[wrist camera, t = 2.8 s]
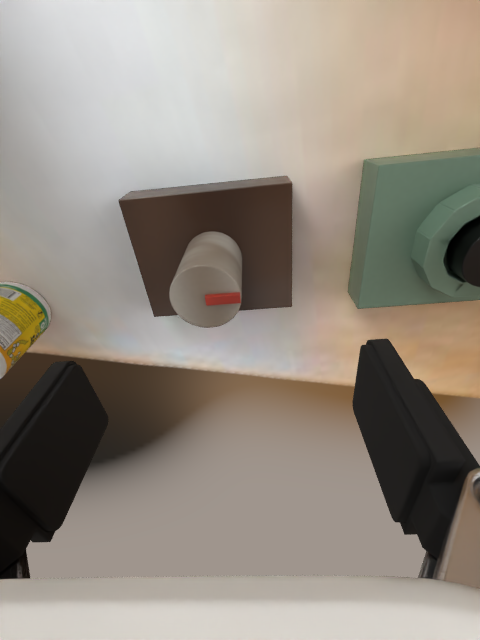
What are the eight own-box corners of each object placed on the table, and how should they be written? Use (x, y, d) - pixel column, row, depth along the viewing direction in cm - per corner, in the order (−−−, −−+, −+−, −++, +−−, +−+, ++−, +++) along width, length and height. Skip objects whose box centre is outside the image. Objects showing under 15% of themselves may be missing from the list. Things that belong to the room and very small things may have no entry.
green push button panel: (347, 292, 25) (365, 322, 22) (363, 159, 20) (391, 169, 16) (509, 279, 25) (556, 309, 21) (574, 137, 19) (654, 143, 15)
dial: (191, 286, 22) (176, 333, 18) (180, 233, 20) (160, 271, 15) (244, 282, 22) (244, 328, 17) (239, 228, 20) (237, 264, 15)
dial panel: (161, 301, 26) (154, 317, 24) (130, 191, 21) (117, 199, 19) (288, 291, 25) (291, 307, 23) (287, 175, 20) (292, 182, 18)
